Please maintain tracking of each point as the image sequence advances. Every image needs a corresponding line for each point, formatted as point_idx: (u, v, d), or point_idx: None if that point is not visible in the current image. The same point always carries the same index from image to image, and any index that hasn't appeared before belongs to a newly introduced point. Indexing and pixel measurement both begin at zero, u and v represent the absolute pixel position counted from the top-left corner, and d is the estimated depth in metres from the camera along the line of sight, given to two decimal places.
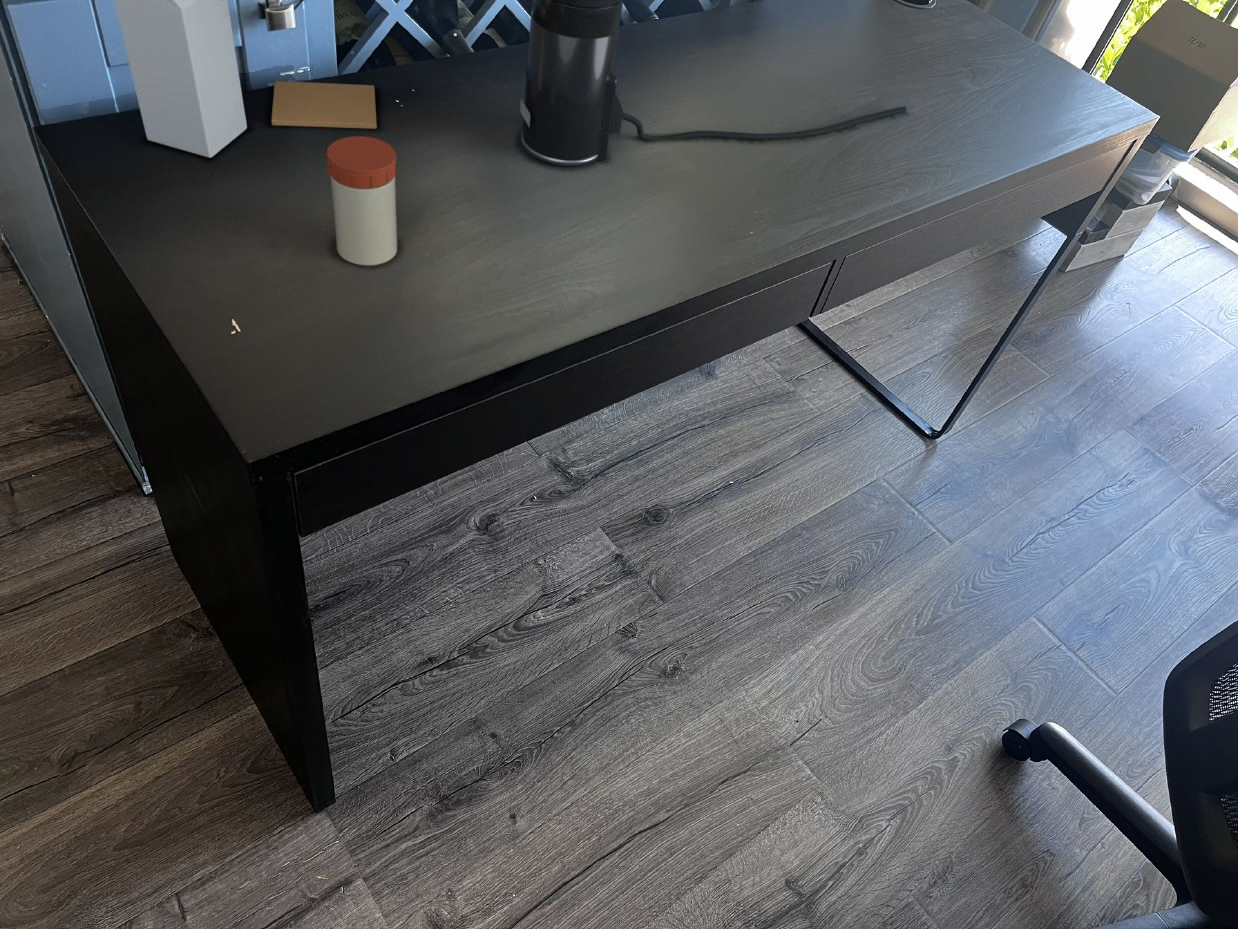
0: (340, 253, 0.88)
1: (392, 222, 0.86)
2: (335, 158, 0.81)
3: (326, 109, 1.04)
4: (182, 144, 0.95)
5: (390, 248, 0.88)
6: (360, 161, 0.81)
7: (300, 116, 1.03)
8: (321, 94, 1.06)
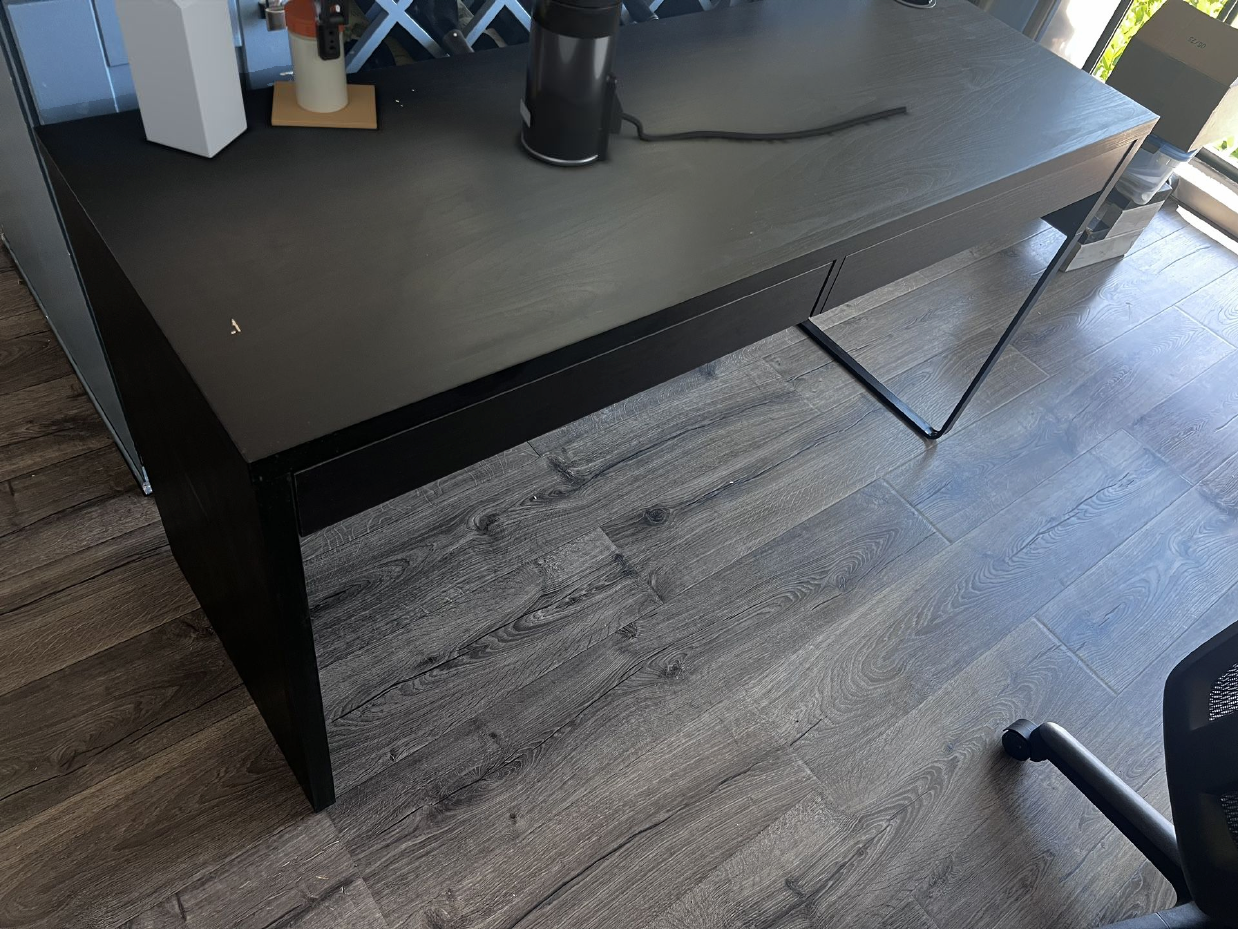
0: (299, 102, 1.04)
1: (341, 74, 1.02)
2: None
3: None
4: (182, 144, 0.95)
5: (340, 98, 1.04)
6: (320, 4, 0.99)
7: (300, 116, 1.03)
8: None
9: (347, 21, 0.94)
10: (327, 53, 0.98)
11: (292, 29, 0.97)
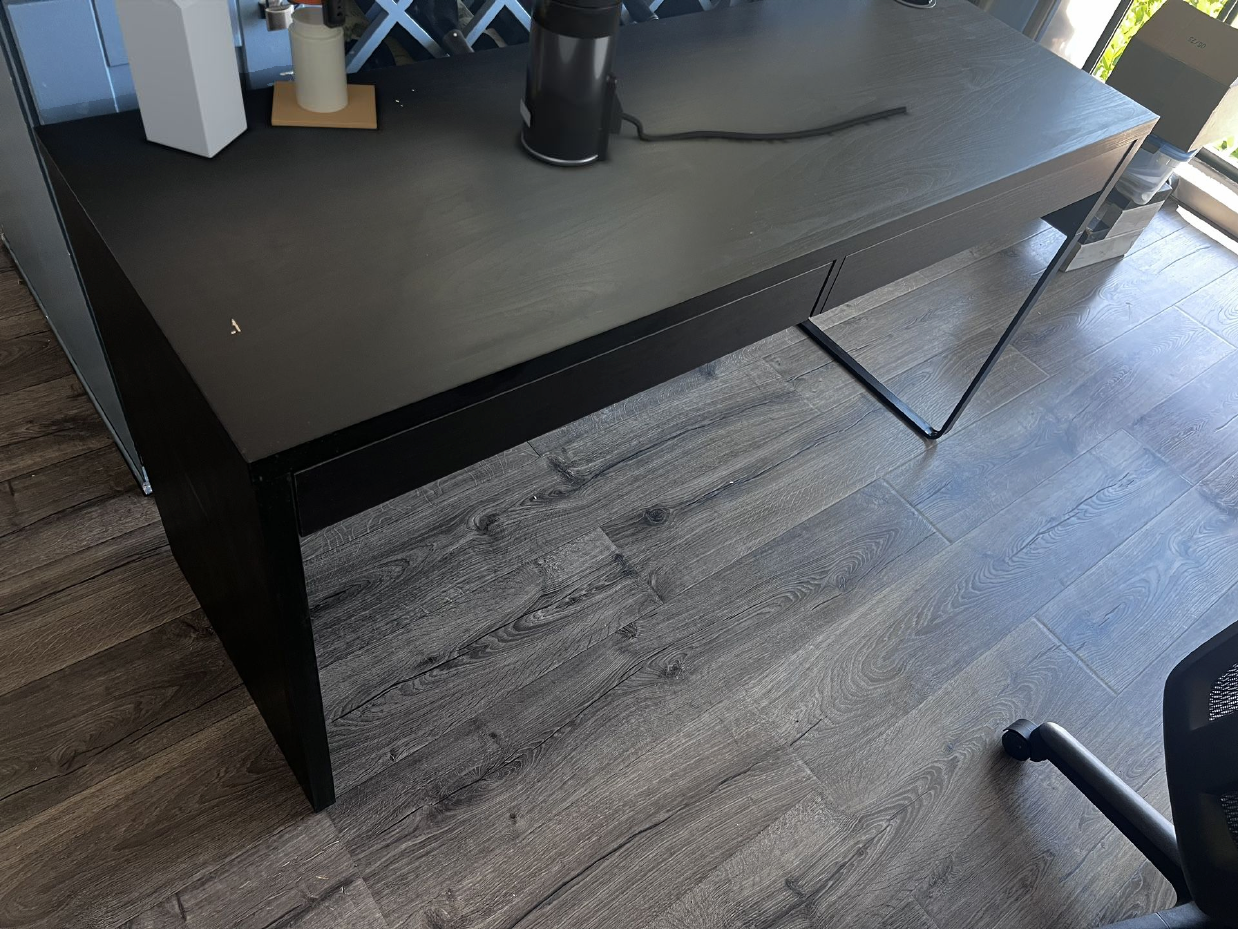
0: (299, 102, 1.04)
1: (342, 74, 1.02)
2: None
3: None
4: (182, 144, 0.95)
5: (340, 98, 1.04)
6: None
7: (300, 116, 1.03)
8: None
9: None
10: (335, 20, 0.95)
11: None
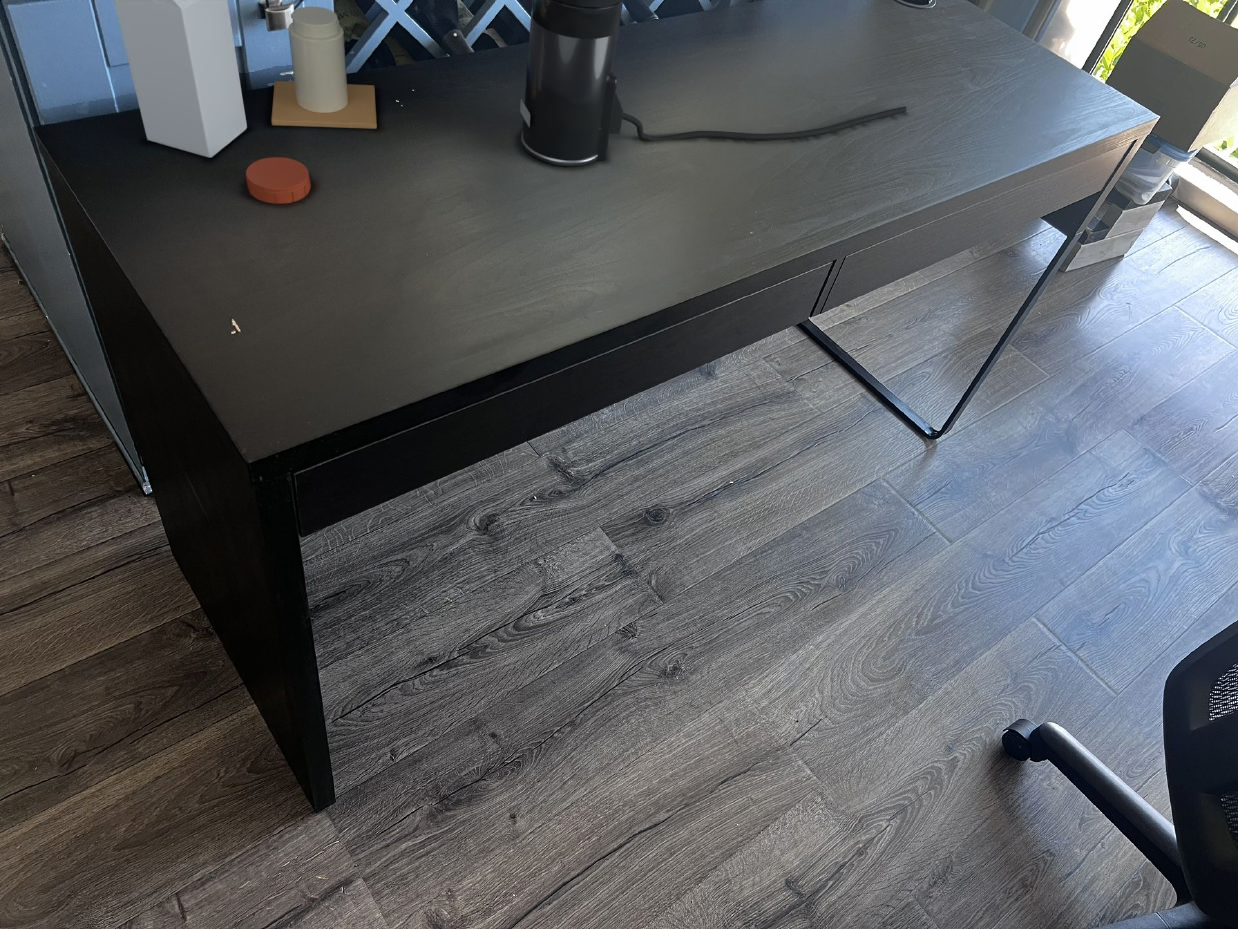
0: (299, 102, 1.04)
1: (342, 74, 1.02)
2: (302, 171, 0.94)
3: None
4: (182, 144, 0.95)
5: (340, 99, 1.04)
6: (283, 165, 0.94)
7: (300, 116, 1.03)
8: None
9: None
10: None
11: (260, 198, 0.92)
